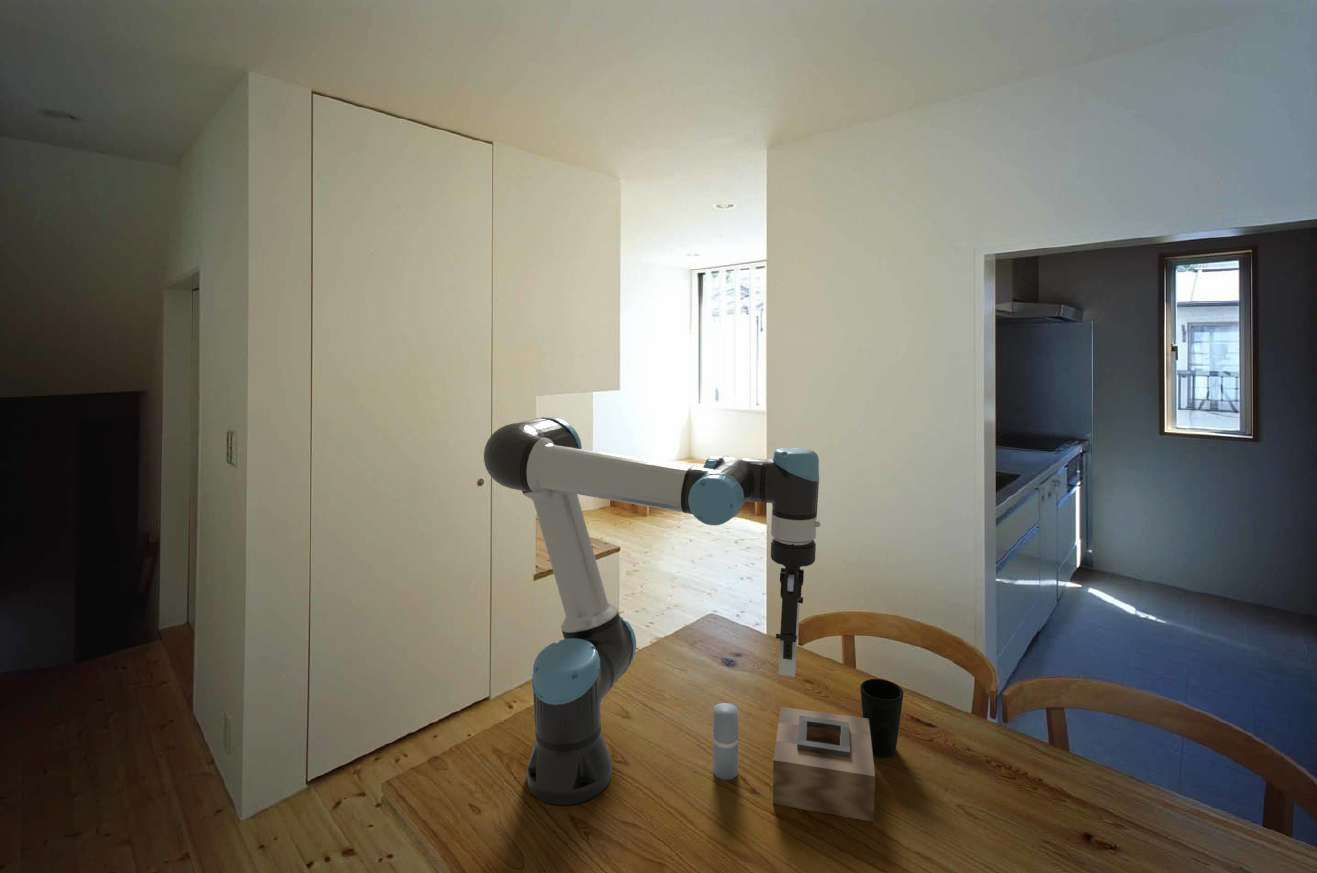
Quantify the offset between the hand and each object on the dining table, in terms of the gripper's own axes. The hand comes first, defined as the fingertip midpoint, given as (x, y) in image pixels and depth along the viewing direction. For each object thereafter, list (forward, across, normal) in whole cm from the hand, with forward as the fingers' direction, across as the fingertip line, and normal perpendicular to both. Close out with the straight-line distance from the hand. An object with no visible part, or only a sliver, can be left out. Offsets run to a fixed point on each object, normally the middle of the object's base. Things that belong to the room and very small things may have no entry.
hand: (788, 655), depth 107 cm
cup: (+22, +11, -17) cm, 30 cm away
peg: (+22, -3, +10) cm, 25 cm away
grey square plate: (+17, -1, -7) cm, 18 cm away
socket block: (+22, -1, -7) cm, 23 cm away
